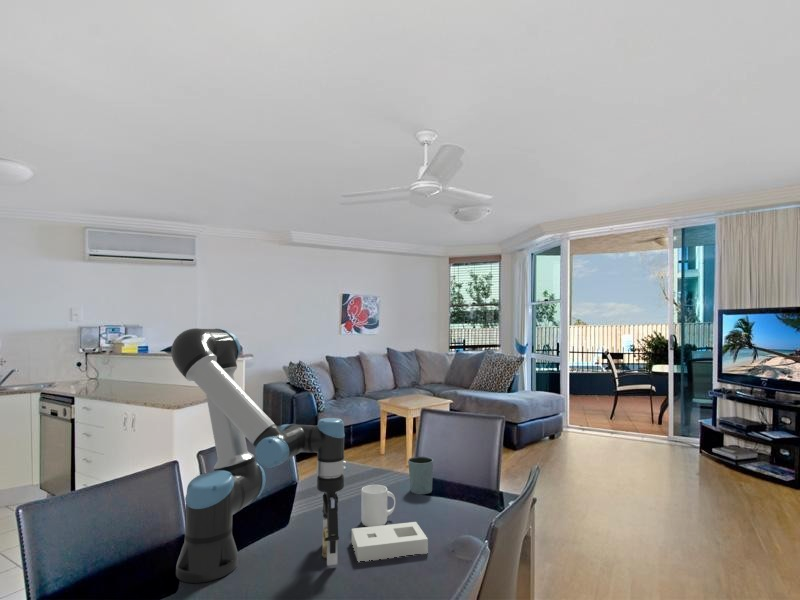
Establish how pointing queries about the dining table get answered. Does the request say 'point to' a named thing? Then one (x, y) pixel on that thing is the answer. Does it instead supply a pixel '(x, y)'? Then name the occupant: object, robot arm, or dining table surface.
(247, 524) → the dining table surface
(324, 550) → the cylinder
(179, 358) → the robot arm
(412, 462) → the grey-green cup
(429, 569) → the dining table surface
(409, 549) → the block
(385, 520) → the mug
